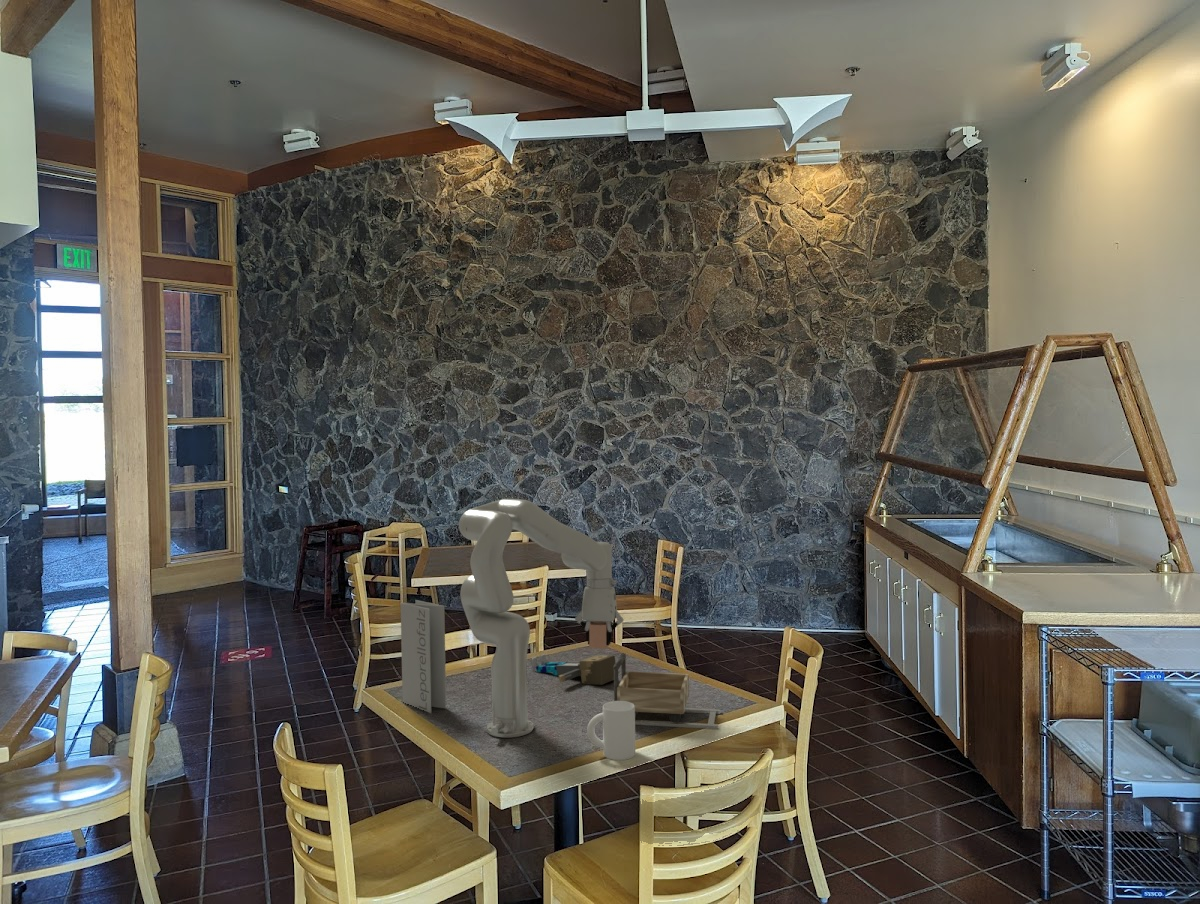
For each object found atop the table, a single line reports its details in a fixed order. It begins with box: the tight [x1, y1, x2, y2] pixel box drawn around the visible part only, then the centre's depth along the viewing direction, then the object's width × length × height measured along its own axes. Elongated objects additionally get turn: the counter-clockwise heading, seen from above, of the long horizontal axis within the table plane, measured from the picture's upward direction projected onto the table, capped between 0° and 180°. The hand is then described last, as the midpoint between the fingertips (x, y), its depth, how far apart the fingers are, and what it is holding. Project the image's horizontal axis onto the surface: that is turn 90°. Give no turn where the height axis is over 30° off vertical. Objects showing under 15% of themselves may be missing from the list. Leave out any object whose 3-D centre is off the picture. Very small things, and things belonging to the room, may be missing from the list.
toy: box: [530, 653, 616, 686], centre depth 269 cm, size 26×8×30 cm
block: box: [588, 622, 610, 650], centre depth 245 cm, size 5×5×7 cm
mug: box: [586, 700, 636, 761], centre depth 202 cm, size 8×12×12 cm
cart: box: [613, 652, 690, 723], centre depth 228 cm, size 16×19×15 cm
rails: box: [635, 707, 721, 730], centre depth 227 cm, size 13×26×1 cm, turn 79°
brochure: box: [400, 599, 447, 714], centre depth 241 cm, size 14×6×30 cm, turn 47°
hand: (599, 643), depth 245 cm, fingers closed on block, 5 cm apart
